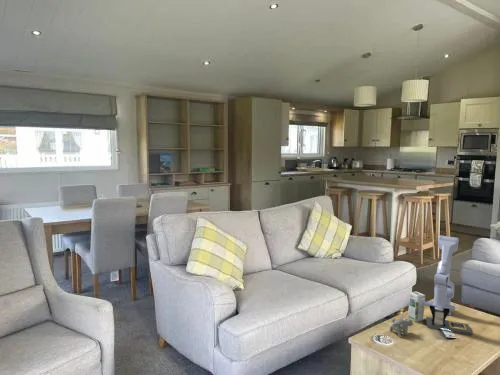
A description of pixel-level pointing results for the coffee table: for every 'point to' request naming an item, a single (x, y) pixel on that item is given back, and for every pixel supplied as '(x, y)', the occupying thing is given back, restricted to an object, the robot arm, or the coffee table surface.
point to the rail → (449, 326)
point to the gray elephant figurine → (401, 325)
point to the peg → (438, 317)
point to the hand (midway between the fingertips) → (438, 321)
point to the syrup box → (416, 306)
